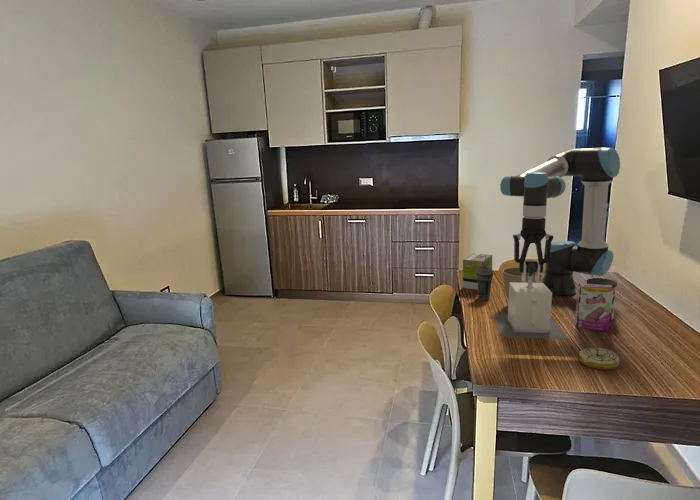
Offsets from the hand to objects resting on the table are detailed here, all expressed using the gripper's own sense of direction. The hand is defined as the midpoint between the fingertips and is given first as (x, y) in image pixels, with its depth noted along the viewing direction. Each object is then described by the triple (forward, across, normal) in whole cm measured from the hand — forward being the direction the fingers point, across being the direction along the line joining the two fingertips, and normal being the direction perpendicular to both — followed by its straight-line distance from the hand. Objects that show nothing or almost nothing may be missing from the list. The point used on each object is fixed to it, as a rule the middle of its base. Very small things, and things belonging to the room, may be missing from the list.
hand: (530, 281), depth 156 cm
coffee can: (+19, -30, -15) cm, 38 cm away
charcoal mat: (+18, 0, 0) cm, 18 cm away
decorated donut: (+19, -15, +26) cm, 35 cm away
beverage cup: (+19, +11, -34) cm, 40 cm away
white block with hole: (+17, 0, +1) cm, 17 cm away
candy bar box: (+19, -23, -2) cm, 30 cm away
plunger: (+16, 0, 0) cm, 16 cm away
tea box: (+19, +11, -54) cm, 58 cm away
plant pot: (+19, -2, -22) cm, 29 cm away
